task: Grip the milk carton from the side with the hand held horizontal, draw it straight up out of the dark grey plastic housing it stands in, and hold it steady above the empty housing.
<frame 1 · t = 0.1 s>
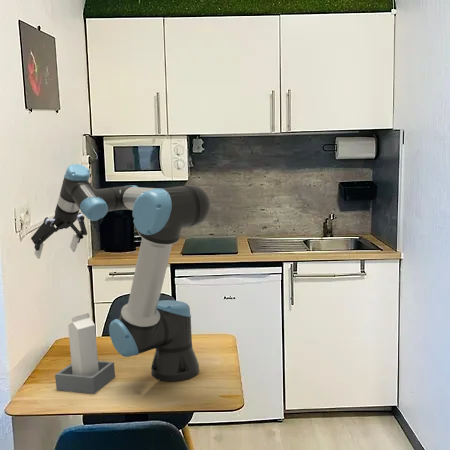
hand: (55, 252, 219), 36 cm above the table, tool tilted 35°, fingers open, 13 cm apart
housing: (86, 383, 193), on the table
milk: (86, 384, 193), resting in housing
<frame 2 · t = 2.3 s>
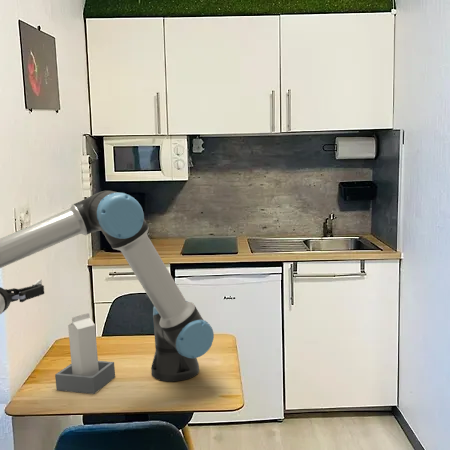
hand: (18, 284, 188), 32 cm above the table, tool horizontal, fingers open, 13 cm apart
nothing on the table moved.
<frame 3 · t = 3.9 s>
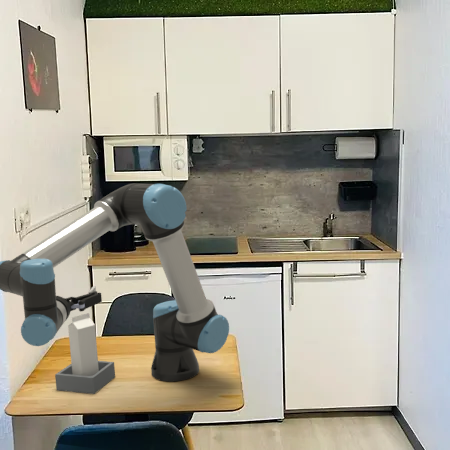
hand: (70, 292, 179), 32 cm above the table, tool horizontal, fingers open, 13 cm apart
nothing on the table moved.
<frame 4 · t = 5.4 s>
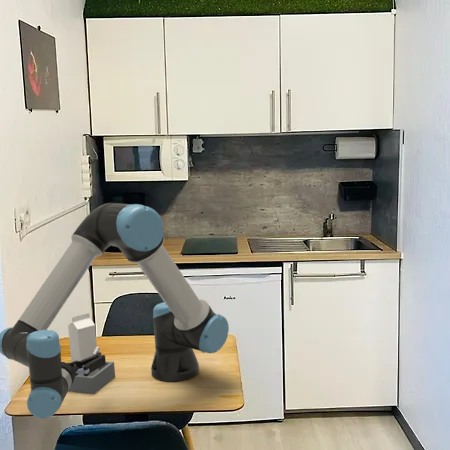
hand: (74, 351, 181), 14 cm above the table, tool horizontal, fingers open, 13 cm apart
nothing on the table moved.
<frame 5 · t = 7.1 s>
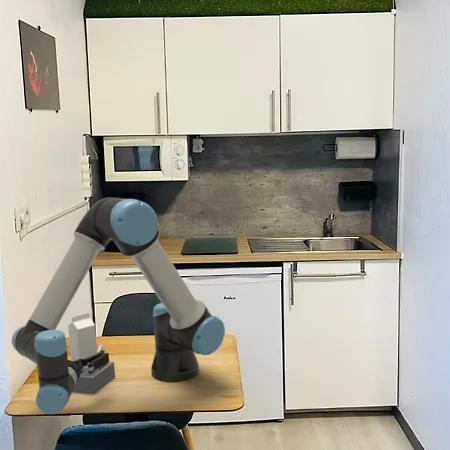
hand: (79, 350, 188), 12 cm above the table, tool horizontal, fingers open, 13 cm apart
nothing on the table moved.
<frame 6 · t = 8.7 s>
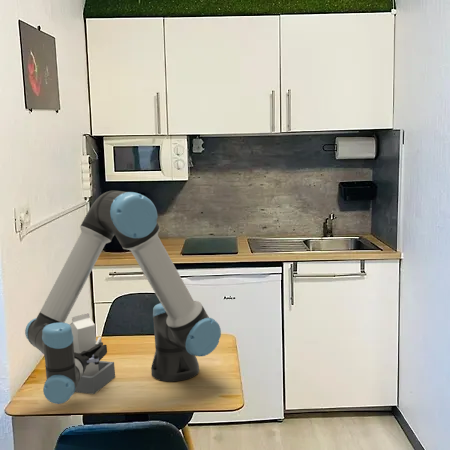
hand: (85, 341, 195), 12 cm above the table, tool horizontal, fingers closed on milk, 8 cm apart
milk: (86, 384, 193), resting in housing, touching gripper
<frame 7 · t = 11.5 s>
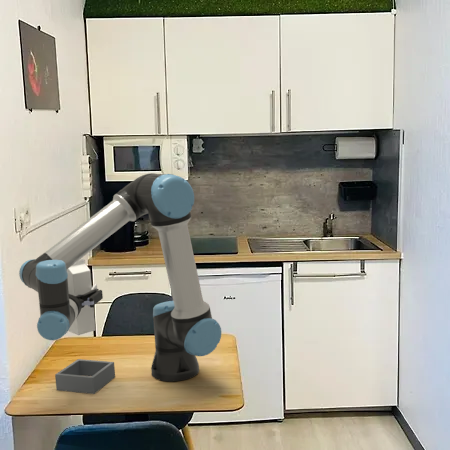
hand: (81, 289, 193), 29 cm above the table, tool horizontal, fingers closed on milk, 8 cm apart
milk: (82, 331, 190), point 17 cm above the table, touching gripper
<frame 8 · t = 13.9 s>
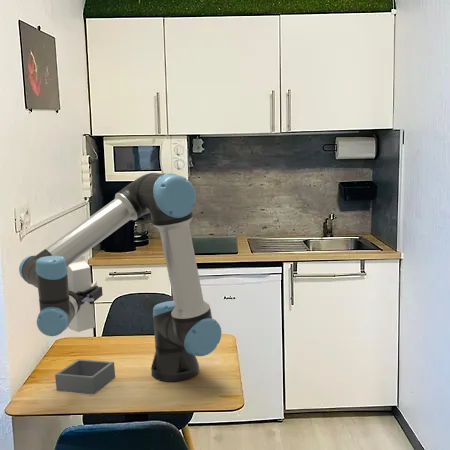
hand: (81, 286, 192), 30 cm above the table, tool horizontal, fingers closed on milk, 8 cm apart
milk: (81, 328, 190), point 18 cm above the table, touching gripper
at the end: milk point 17.7 cm above the table; the gripper is holding milk; milk tilted 0° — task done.
